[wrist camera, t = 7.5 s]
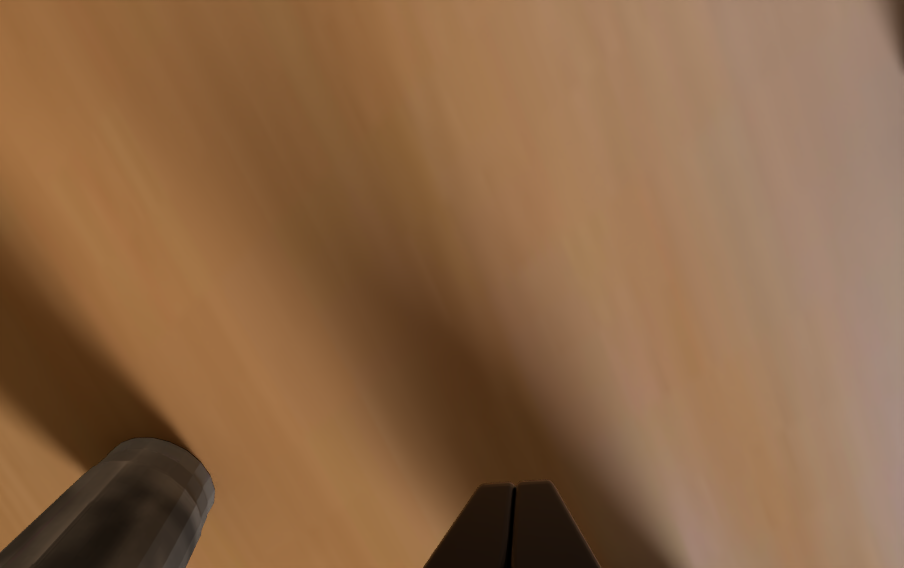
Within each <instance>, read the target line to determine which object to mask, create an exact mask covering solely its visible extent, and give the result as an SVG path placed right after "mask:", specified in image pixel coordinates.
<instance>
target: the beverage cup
mask: <svg viewBox="0 0 904 568" xmlns="http://www.w3.org/2000/svg"><path fill="white" fill-rule="evenodd" d="M214 494H215V489H214V486H213V483H212V480H211V476H210V475H209V473H208V472H207V471H206V469H205V468H204V466H203V465H202V463H201V462H200V461H198V460H197V459H196V458H195V457H194V456H193V455H191V454H190V453H189V452H188V451H186V450H184V449H182V448H180V447H179V446H177V445H175V444H173V443H171V442H167V441H163V440H159V439H155V438H134V439H131V440H128V441H125V442H122V443H120V444H119V445H118V446H117V447H115V448H114V449H113V450H112V451H111V452H110V453H109V454H108V455H107V456H106V457H105V458H104V459H103V460H102V461H101V462H99V463H98V464H97V465H96V466H93V467H92V468H91V469H90V470H88V471H87V472H86V473H85V474H84V475H83V476H81V477H80V478H79V479H78V480H77V481H76V482H75V483H74V484H73V485H72V486H71V487H70V488H69V489H67V490H66V491H65V492H64V493H63V494H62V495H61V496H60V497H59V498H58V499H57V500H56V501H55V502H54V503H53V504H51V505H50V506H49V507H48V508H47V509H46V510H45V511H44V512H43V513H42V514H41V515H40V516H39V517H38V518H36V519H35V520H34V521H33V522H32V523H31V524H30V525H29V526H28V527H27V528H26V529H25V530H24V531H23V532H21V533H20V534H19V535H18V536H17V537H16V538H15V539H14V540H13V541H12V542H11V543H10V544H9V545H8V546H7V547H5V548H4V549H3V550H2V551H1V552H0V568H186V565H187V563H188V561H189V559H190V557H191V555H192V553H193V551H194V548H195V546H196V544H197V542H198V540H199V538H200V536H201V530H202V527H203V525H204V523H205V520H206V518H207V514H208V512H209V510H210V509H211V507H212V505H213V503H214Z"/></svg>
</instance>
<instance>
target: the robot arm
mask: <svg viewBox="0 0 904 568" xmlns="http://www.w3.org/2000/svg"><path fill="white" fill-rule="evenodd" d="M423 568H601V566H600V564H599V562H598V560H597V559H596V557H595V555H594V553H593V552H592V550H591V548H590V546H589V545H588V543H587V541H586V539H585V538H584V536H583V534H582V532H581V531H580V529H579V527H578V525H577V524H576V522H575V520H574V518H573V517H572V515H571V513H570V511H569V510H568V508H567V506H566V504H565V503H564V501H563V499H562V497H561V496H560V494H559V492H558V490H557V489H556V487H555V485H554V484H553V483H552V482H551V481H550V480H546V479H545V480H529V481H520V482H519V483H518V484H517V486H515V485H514V484H513V483H512V482H498V483H485V484H482V485H480V486H479V487H478V488H477V489H476V491H475V492H474V494H473V495H472V497H471V498H470V500H469V501H468V503H467V504H466V505H465V507H464V508H463V510H462V511H461V513H460V514H459V516H458V517H457V519H456V520H455V522H454V523H453V524H452V526H451V527H450V529H449V530H448V532H447V533H446V535H445V536H444V538H443V539H442V541H441V542H440V544H439V545H438V546H437V548H436V549H435V551H434V552H433V554H432V555H431V557H430V558H429V560H428V561H427V563H426V564H425V565H424V567H423Z"/></svg>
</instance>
